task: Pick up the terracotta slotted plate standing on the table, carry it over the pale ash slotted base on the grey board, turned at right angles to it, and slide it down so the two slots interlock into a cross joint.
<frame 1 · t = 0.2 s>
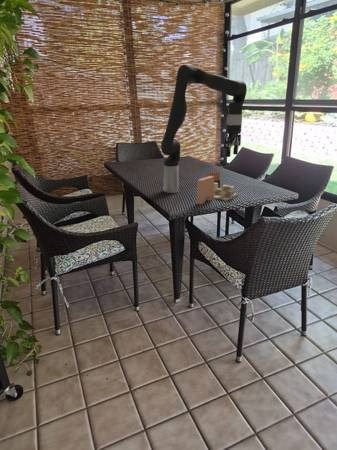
hand: (231, 155, 165), 28 cm above the table, tool pointing down, fingers open, 8 cm apart
terracotta slotted plate: (205, 201, 184), on the table
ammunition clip: (212, 188, 209), on the table
ash slotted base: (219, 195, 194), on the table
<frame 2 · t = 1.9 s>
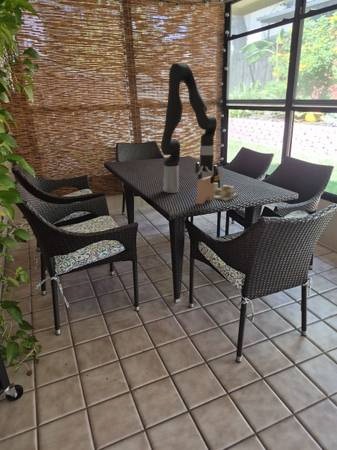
hand: (206, 181, 179), 12 cm above the table, tool pointing down, fingers open, 8 cm apart
nothing on the table moved.
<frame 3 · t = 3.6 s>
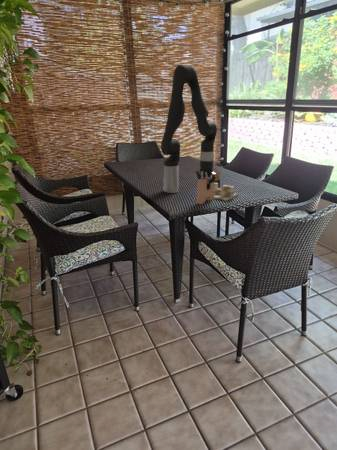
hand: (205, 188, 181), 8 cm above the table, tool pointing down, fingers closed on terracotta slotted plate, 3 cm apart
terracotta slotted plate: (205, 201, 184), on the table, touching gripper
everything else where it was.
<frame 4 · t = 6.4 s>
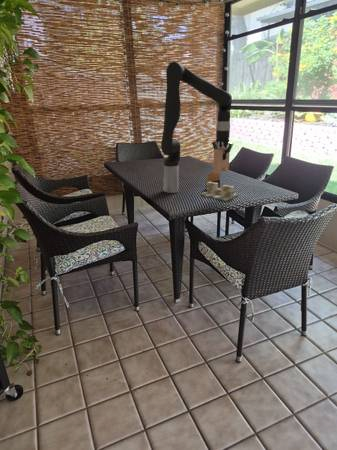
hand: (221, 159, 185), 23 cm above the table, tool pointing down, fingers closed on terracotta slotted plate, 3 cm apart
terracotta slotted plate: (220, 172, 188), point 15 cm above the table, touching gripper
everything else where it was.
when the fingers open (10 cm above the table, at t = 9.5 s): terracotta slotted plate stays where it is, resting on ash slotted base.
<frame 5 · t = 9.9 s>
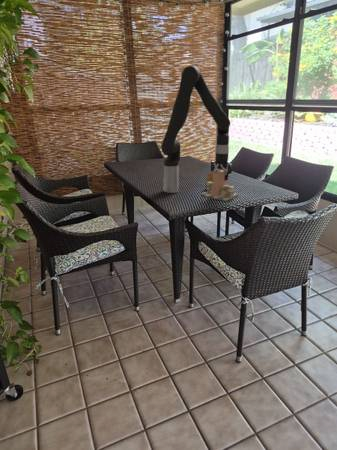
hand: (220, 179, 190), 10 cm above the table, tool pointing down, fingers open, 7 cm apart
terracotta slotted plate: (219, 193, 193), point 1 cm above the table, touching ash slotted base
everything else where it was.
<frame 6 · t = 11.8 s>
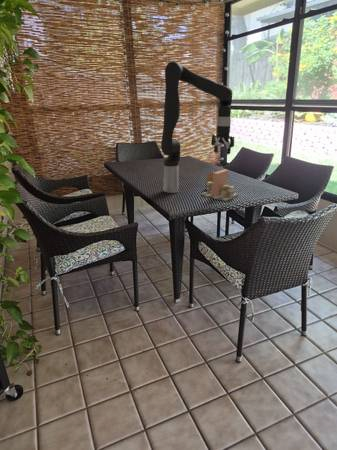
hand: (222, 153, 184), 26 cm above the table, tool pointing down, fingers open, 8 cm apart
nothing on the table moved.
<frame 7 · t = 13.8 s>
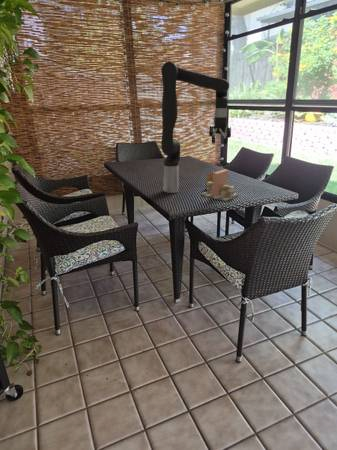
hand: (219, 144, 191), 30 cm above the table, tool pointing down, fingers open, 8 cm apart
nothing on the table moved.
at the end: terracotta slotted plate 0.1 cm off-centre on the ash slotted base, point 1.2 cm above the ash slotted base's base; terracotta slotted plate tilted 0°; the gripper is holding nothing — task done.
